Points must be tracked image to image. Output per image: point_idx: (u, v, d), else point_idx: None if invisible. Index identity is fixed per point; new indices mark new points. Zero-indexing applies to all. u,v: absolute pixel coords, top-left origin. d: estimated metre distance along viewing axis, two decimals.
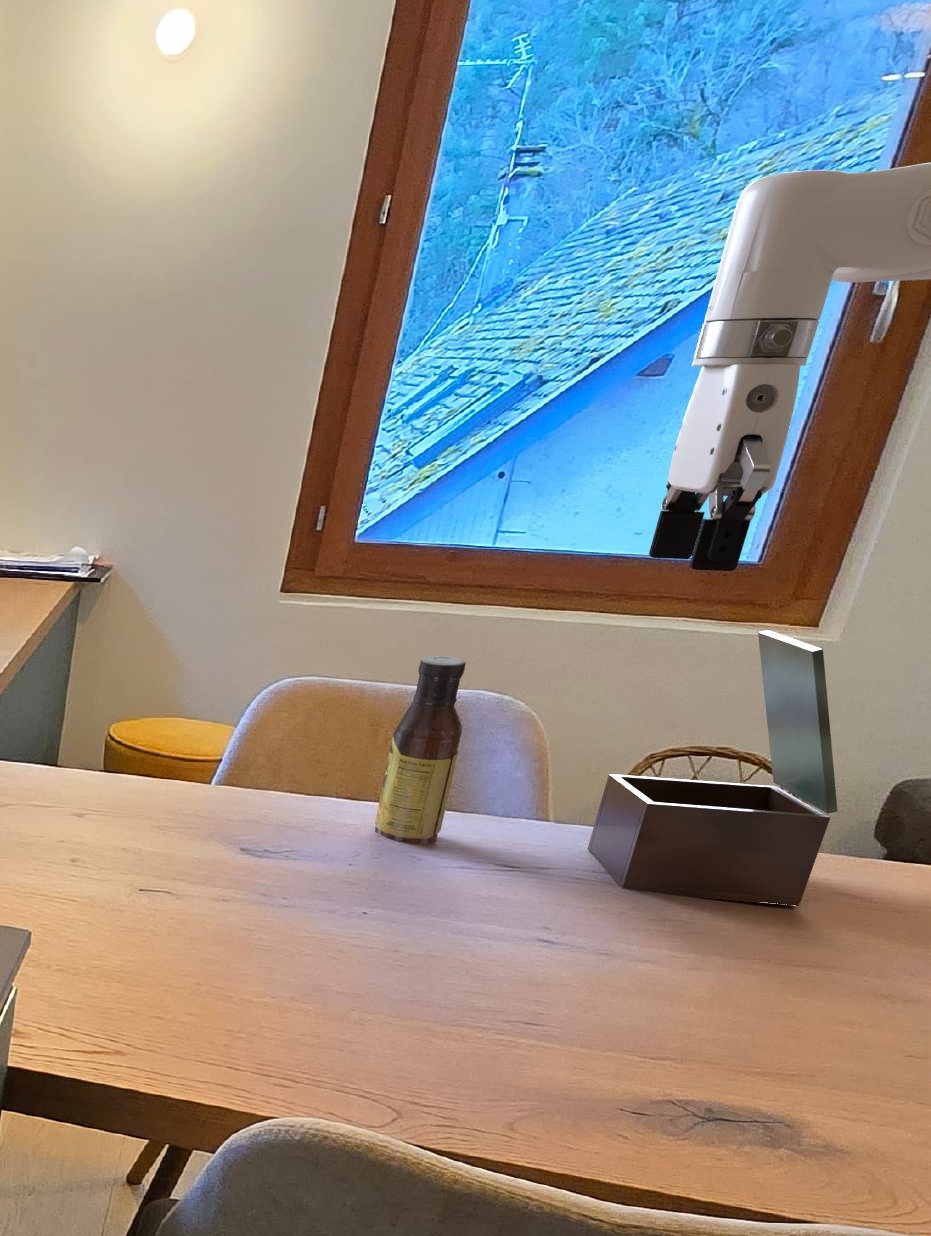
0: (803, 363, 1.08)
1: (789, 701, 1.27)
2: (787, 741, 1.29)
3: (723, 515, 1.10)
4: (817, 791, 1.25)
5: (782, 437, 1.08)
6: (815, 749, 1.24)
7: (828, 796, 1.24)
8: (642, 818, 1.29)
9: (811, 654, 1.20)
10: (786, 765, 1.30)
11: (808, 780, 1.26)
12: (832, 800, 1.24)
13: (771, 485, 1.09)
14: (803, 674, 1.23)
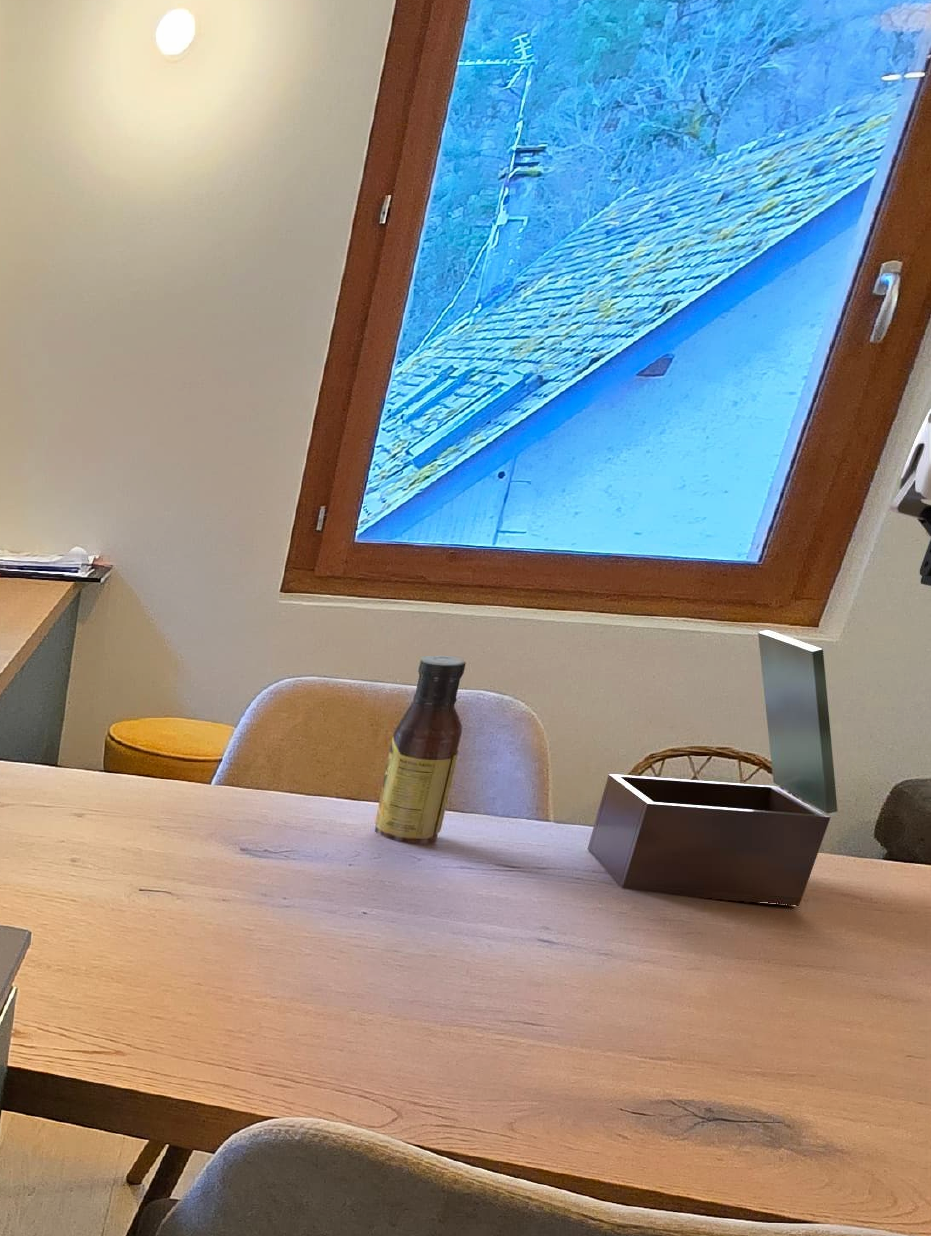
0: None
1: (789, 701, 1.27)
2: (787, 741, 1.29)
3: (928, 532, 1.20)
4: (817, 791, 1.25)
5: None
6: (815, 749, 1.24)
7: (828, 796, 1.24)
8: (642, 818, 1.29)
9: (811, 654, 1.20)
10: (786, 765, 1.30)
11: (808, 780, 1.26)
12: (832, 800, 1.24)
13: (924, 491, 1.16)
14: (803, 674, 1.23)
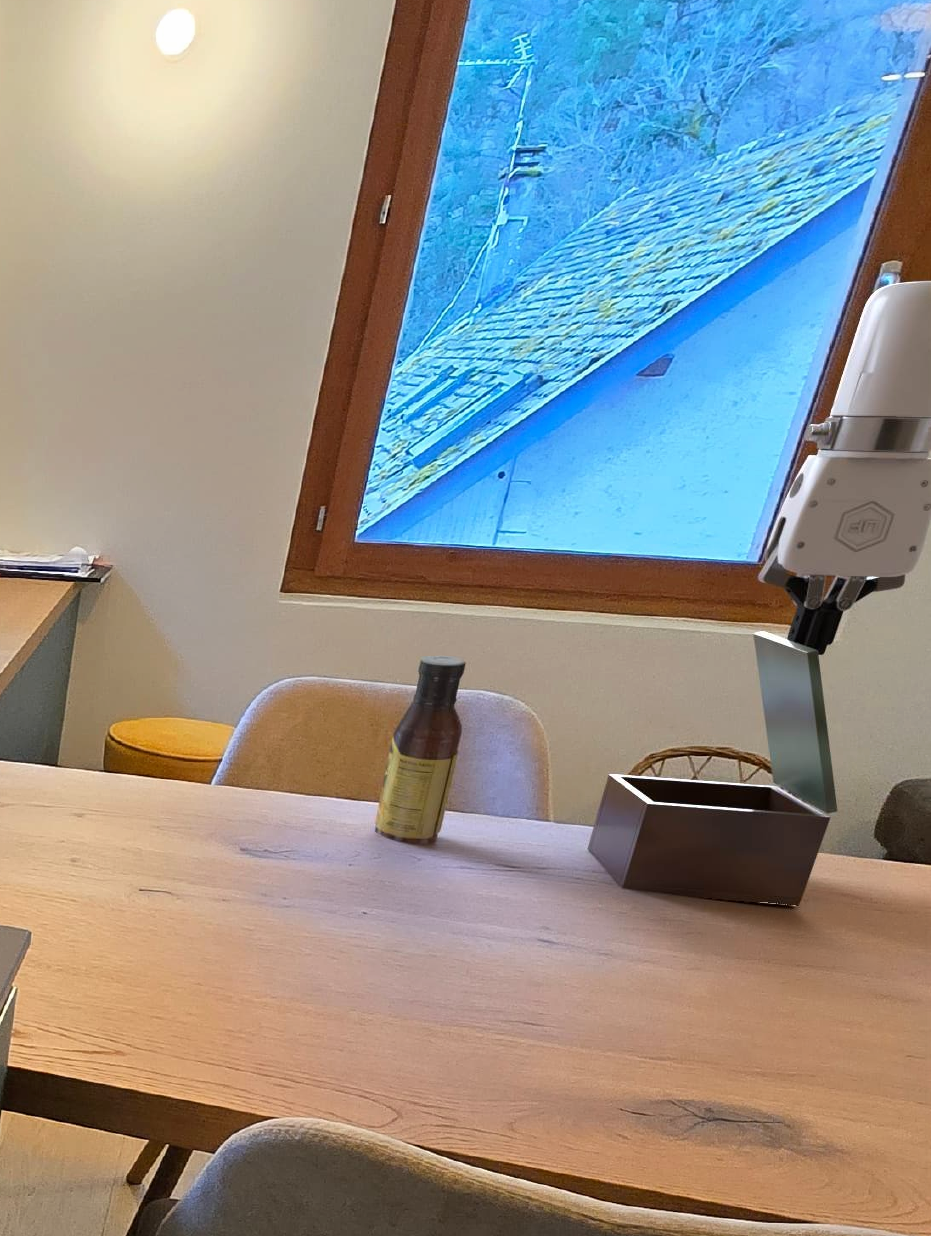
0: (857, 456, 1.16)
1: (786, 702, 1.27)
2: (785, 741, 1.29)
3: (794, 601, 1.24)
4: (816, 791, 1.25)
5: (795, 521, 1.20)
6: (813, 750, 1.24)
7: (827, 796, 1.24)
8: (642, 818, 1.29)
9: (806, 655, 1.20)
10: (785, 765, 1.30)
11: (808, 781, 1.26)
12: (832, 800, 1.24)
13: (785, 563, 1.21)
14: (799, 675, 1.23)
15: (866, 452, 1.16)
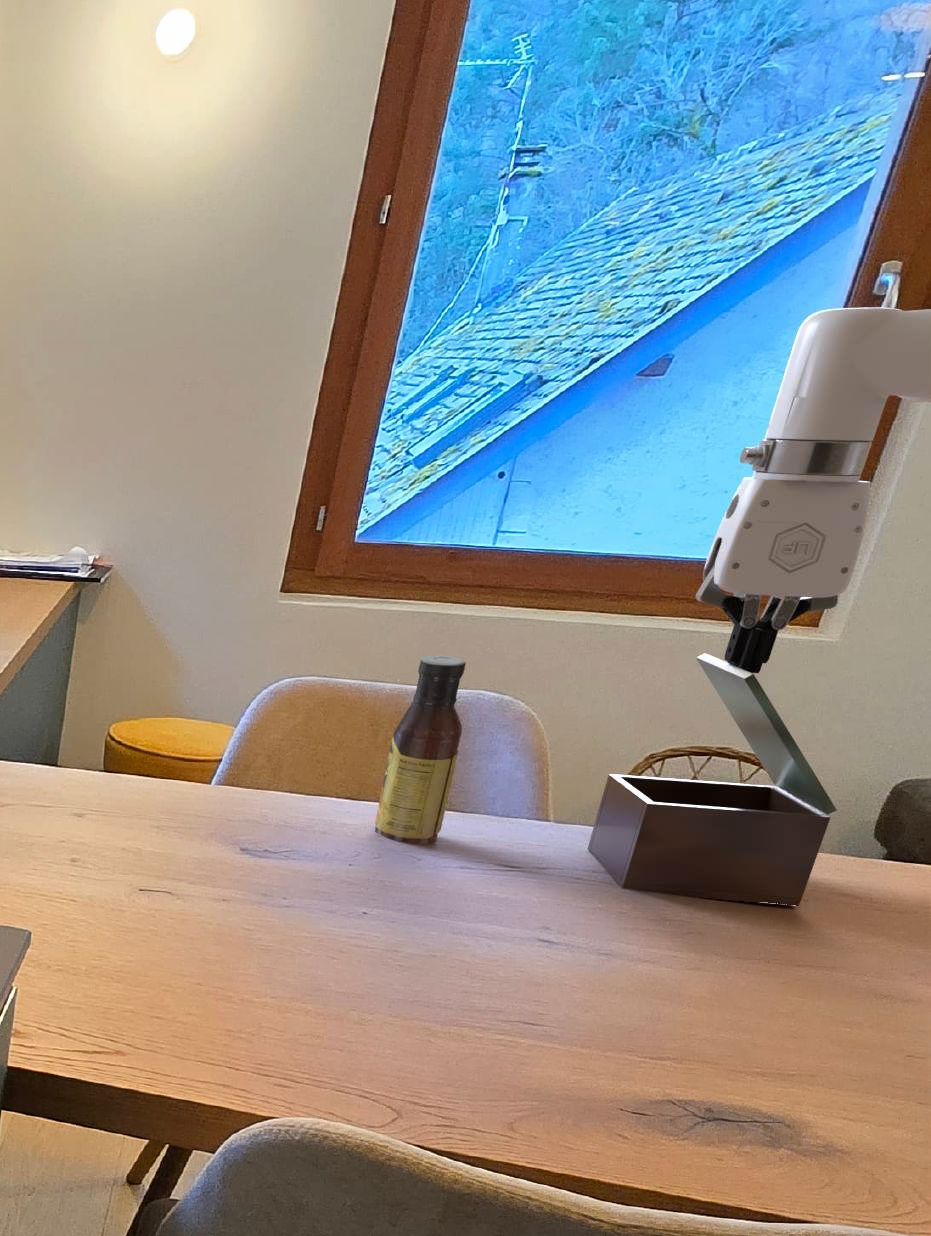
0: (790, 479, 1.18)
1: (749, 717, 1.28)
2: (765, 750, 1.30)
3: (731, 620, 1.26)
4: (810, 795, 1.25)
5: (730, 541, 1.22)
6: (789, 759, 1.24)
7: (821, 799, 1.24)
8: (642, 818, 1.29)
9: (744, 681, 1.23)
10: (775, 770, 1.31)
11: (799, 785, 1.27)
12: (827, 802, 1.24)
13: (721, 583, 1.23)
14: (747, 696, 1.25)
15: (798, 475, 1.18)
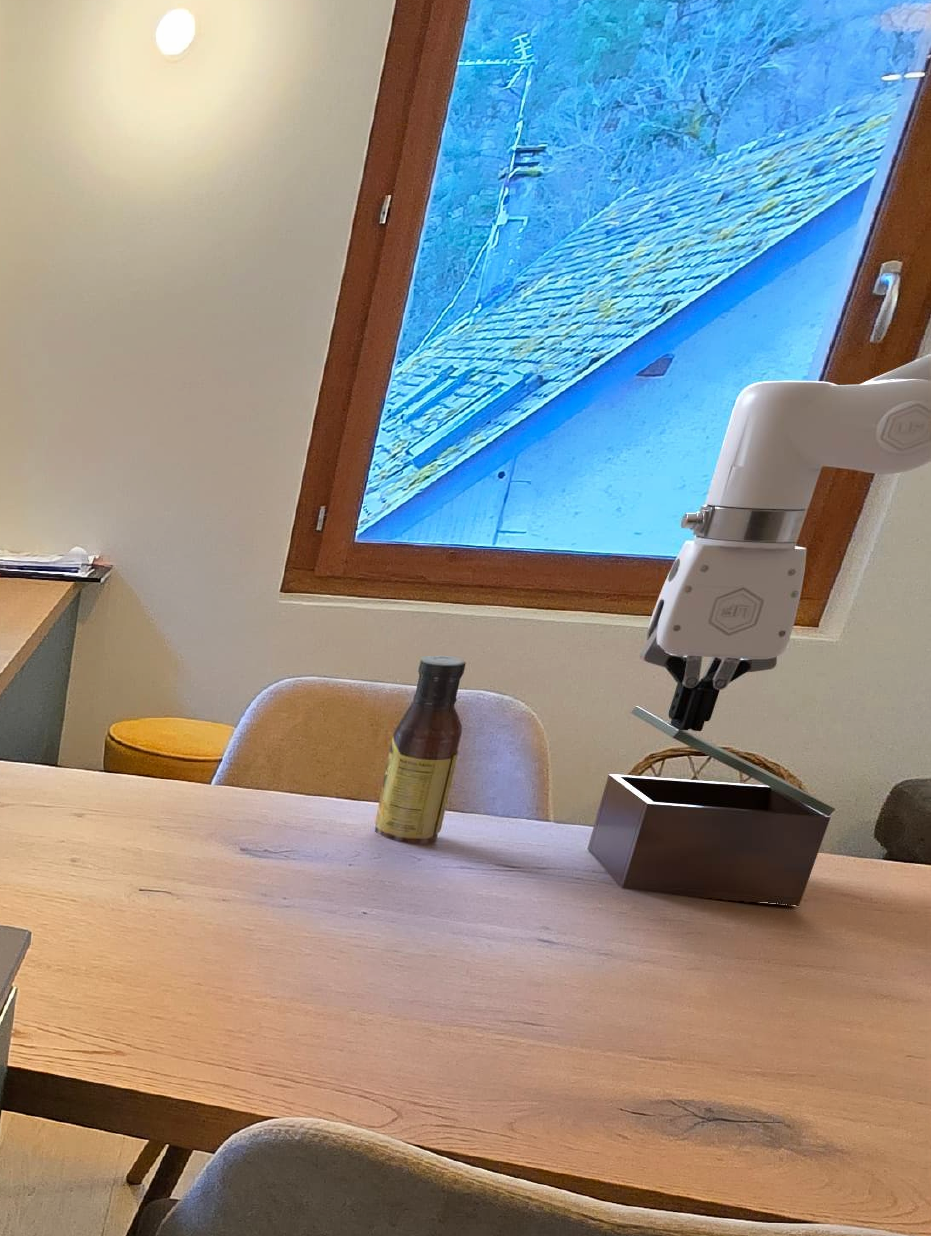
0: (728, 545, 1.21)
1: None
2: None
3: (675, 678, 1.29)
4: None
5: (671, 604, 1.25)
6: None
7: (813, 806, 1.24)
8: (642, 818, 1.29)
9: None
10: None
11: None
12: (820, 806, 1.24)
13: (663, 645, 1.26)
14: None
15: (736, 542, 1.21)
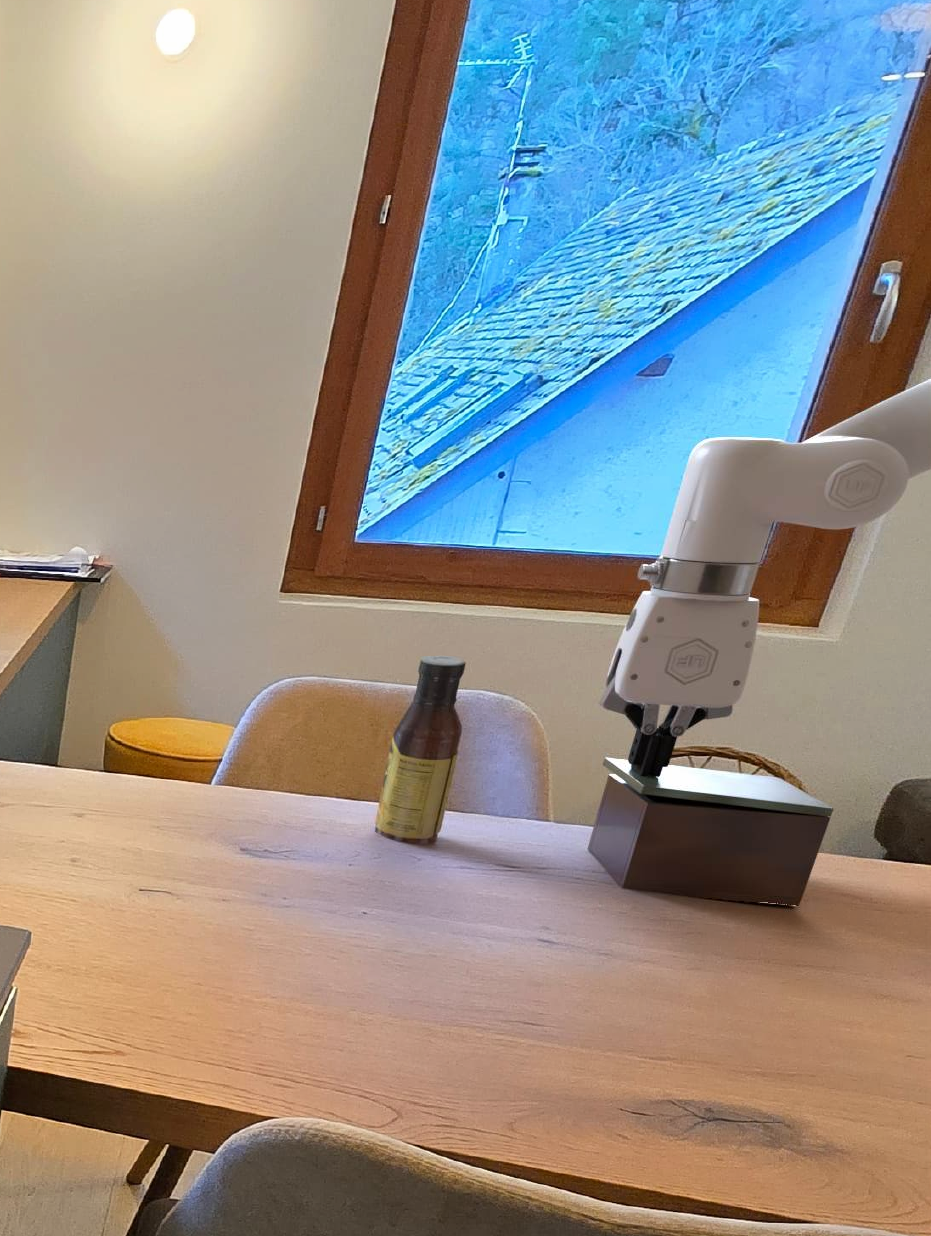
0: (682, 597, 1.24)
1: None
2: None
3: (634, 725, 1.32)
4: None
5: (628, 654, 1.27)
6: None
7: (810, 812, 1.24)
8: (642, 818, 1.29)
9: None
10: None
11: None
12: (817, 810, 1.24)
13: (621, 693, 1.28)
14: None
15: (690, 594, 1.23)
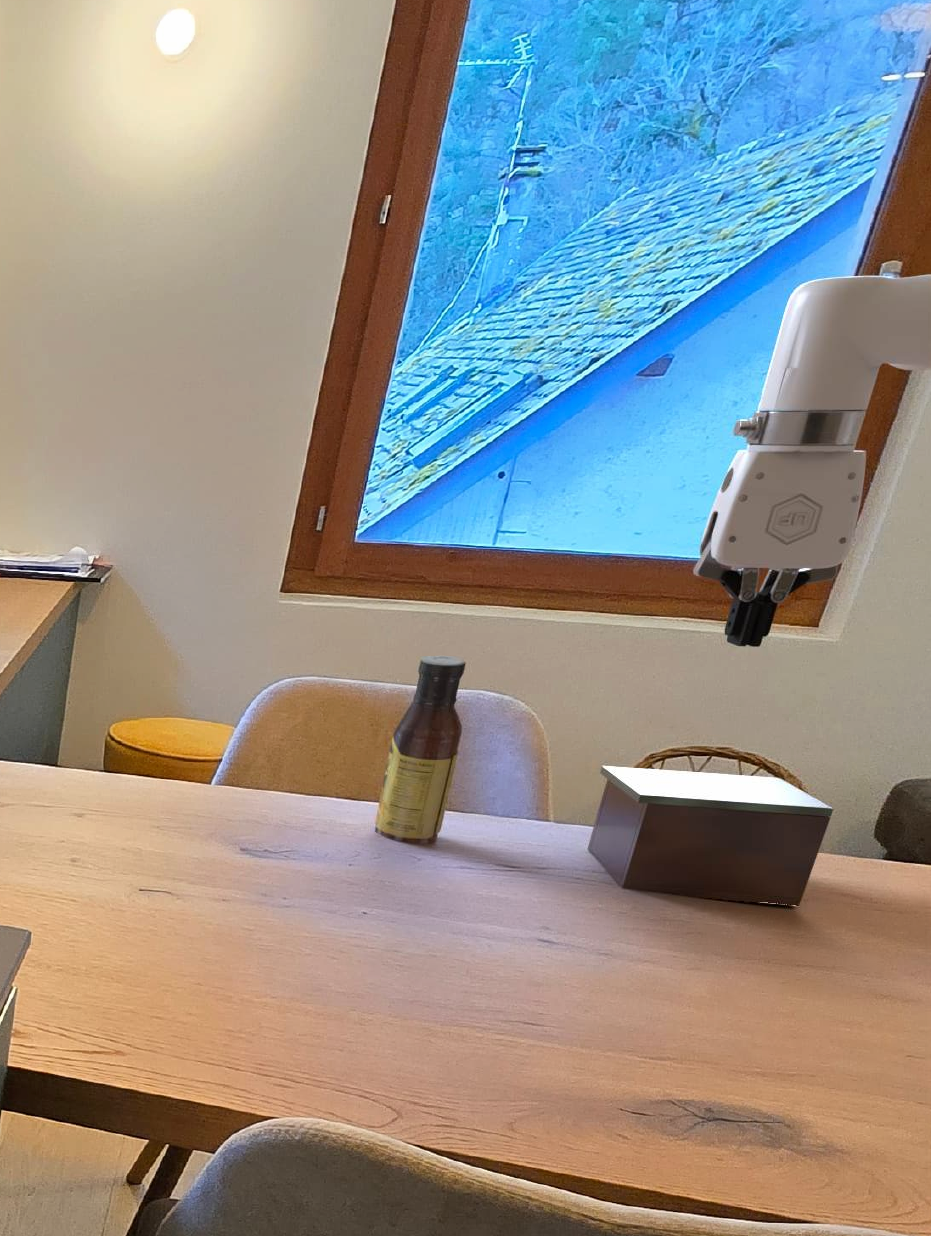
0: (784, 450, 1.18)
1: None
2: None
3: (730, 594, 1.26)
4: None
5: (726, 515, 1.21)
6: None
7: (810, 813, 1.25)
8: (642, 818, 1.29)
9: None
10: None
11: None
12: (817, 811, 1.24)
13: (718, 557, 1.22)
14: None
15: (793, 446, 1.17)
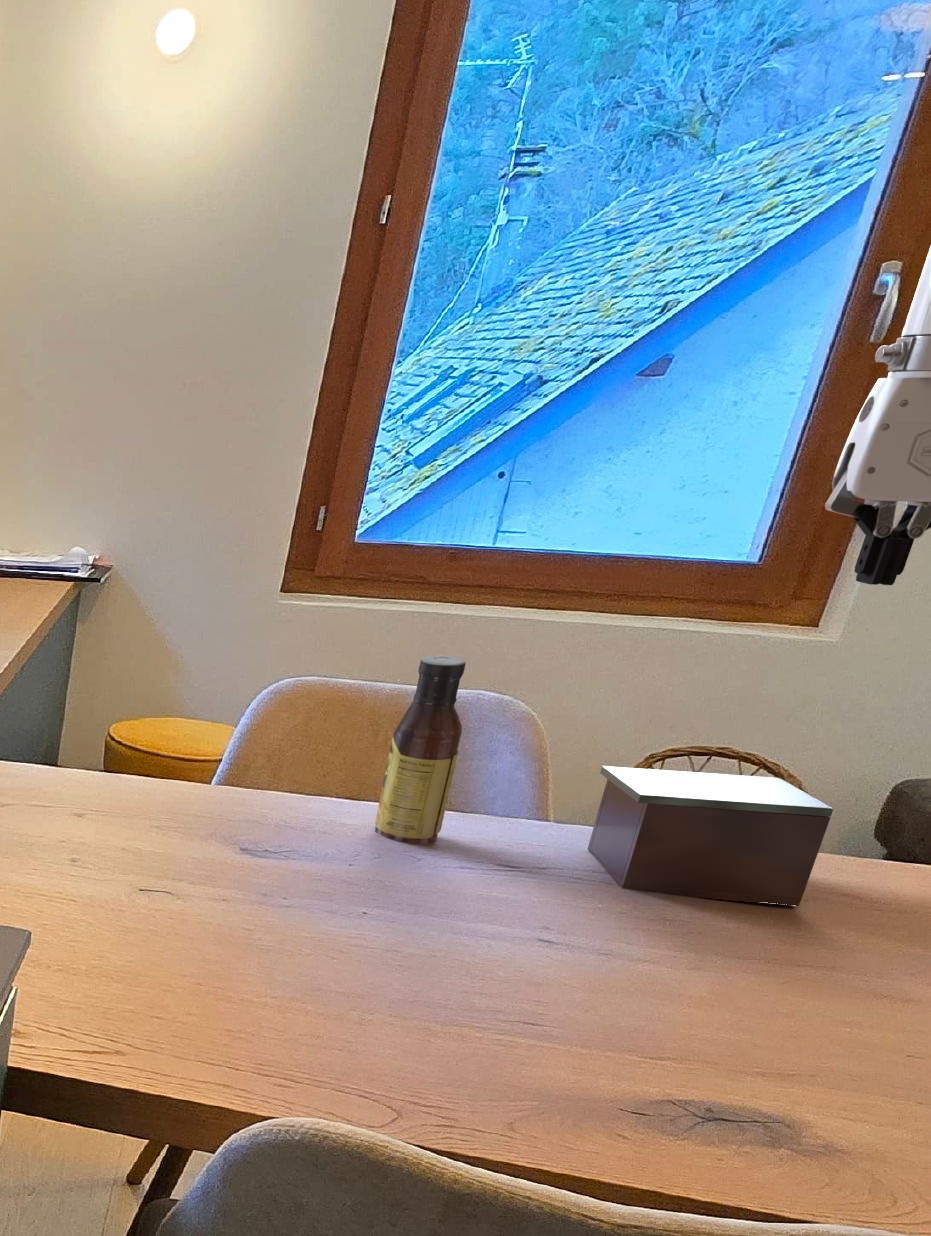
0: None
1: None
2: None
3: (862, 530, 1.21)
4: None
5: (865, 445, 1.17)
6: None
7: (810, 813, 1.25)
8: (642, 818, 1.29)
9: None
10: None
11: None
12: (817, 811, 1.24)
13: (855, 490, 1.18)
14: None
15: None
